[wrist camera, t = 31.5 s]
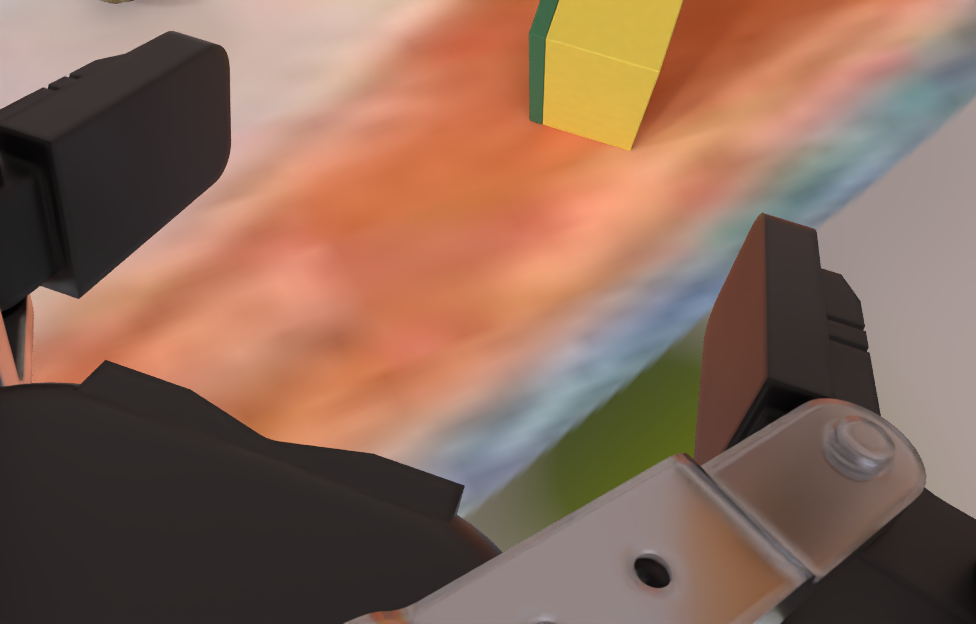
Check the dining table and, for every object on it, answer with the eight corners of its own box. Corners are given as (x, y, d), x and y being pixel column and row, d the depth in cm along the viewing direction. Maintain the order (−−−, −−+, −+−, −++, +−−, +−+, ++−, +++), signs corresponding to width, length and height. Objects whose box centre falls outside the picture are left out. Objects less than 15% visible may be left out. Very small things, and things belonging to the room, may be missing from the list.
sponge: (529, 120, 35) (528, 33, 27) (564, 18, 35) (574, -98, 27) (630, 151, 34) (659, 72, 26) (664, 47, 35) (703, -62, 27)
